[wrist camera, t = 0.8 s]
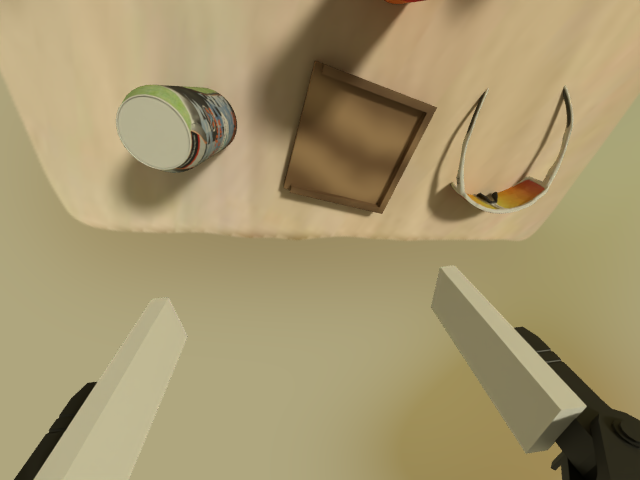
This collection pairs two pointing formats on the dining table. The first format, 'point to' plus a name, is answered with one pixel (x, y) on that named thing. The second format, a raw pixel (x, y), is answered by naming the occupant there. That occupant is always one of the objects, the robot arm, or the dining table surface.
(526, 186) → the sunglasses
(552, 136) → the dining table surface
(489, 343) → the robot arm
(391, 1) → the paper cup
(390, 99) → the far tray
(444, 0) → the dining table surface
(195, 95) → the beverage can
